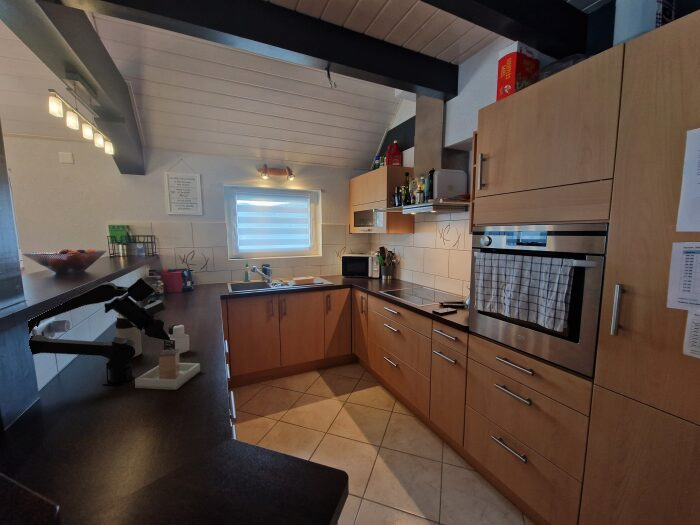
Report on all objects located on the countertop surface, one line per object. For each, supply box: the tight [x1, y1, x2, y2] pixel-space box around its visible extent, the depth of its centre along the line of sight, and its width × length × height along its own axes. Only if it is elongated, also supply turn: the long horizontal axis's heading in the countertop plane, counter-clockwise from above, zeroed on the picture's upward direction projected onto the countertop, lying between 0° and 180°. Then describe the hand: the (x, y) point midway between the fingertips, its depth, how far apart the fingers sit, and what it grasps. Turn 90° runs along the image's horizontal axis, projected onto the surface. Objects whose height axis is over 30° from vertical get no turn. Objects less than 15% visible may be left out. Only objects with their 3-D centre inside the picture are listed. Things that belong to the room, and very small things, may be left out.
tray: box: [134, 362, 201, 391], centre depth 102 cm, size 14×14×3 cm
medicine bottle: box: [163, 323, 190, 355], centre depth 128 cm, size 7×7×12 cm
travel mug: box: [115, 313, 143, 358], centre depth 121 cm, size 8×8×18 cm
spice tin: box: [158, 349, 180, 379], centre depth 102 cm, size 5×5×9 cm
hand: (165, 336), depth 109 cm, fingers open, 9 cm apart
